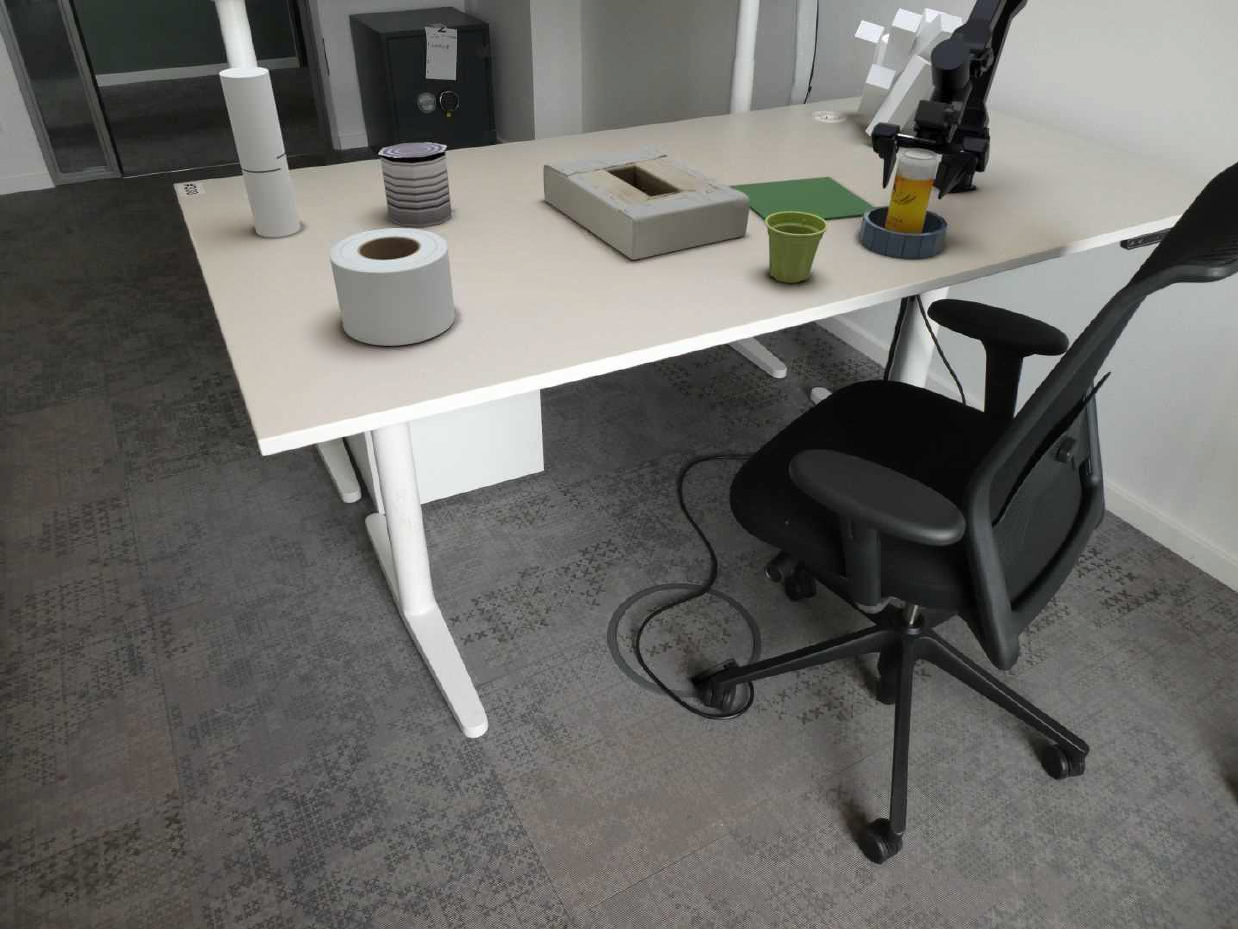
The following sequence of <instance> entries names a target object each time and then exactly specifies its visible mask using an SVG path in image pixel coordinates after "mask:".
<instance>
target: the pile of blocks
mask: <svg viewBox="0 0 1238 929" xmlns="http://www.w3.org/2000/svg"><path fill="white" fill-rule="evenodd" d="M963 24H964V23H963V18H962V17H961V16H957V15H952V14H948V13H947V12H943V11H940V10H936V9H931V8H928V7H925V8H924V10H923V12H922V14H919V13H916V12H913V11H910V10H906V9H903V8H900V7H899V8H898V10H897V12H896V14H895V17H894V18H893V21H892V23H891V26H890V30H889V33H886V34H884V31H885V26H882V25H879V24H876V23H872V22H870V21H866V20H863V19H862V20H861V22H860V23H859V25H858V28H857V30H856V32H855V34H854V37H853V43H852V48H851V49H852V50H851V55H850V60H849V61H850V62H849V67H848V74H847V78H846V84H849V85H851V86H854V87H858V88H861V89H863V90H862V94H861V97H860V98H861V99H860V102H859V106H858V110H857V114H859V115H862V116H865V117H869V118H872V119H871V121H870V123H869V125H868V126H867V128H866V130H864V132H865V133H866V134H867V135H868V136H870V137H871V133H872V131H873V128H874V126H875V125H877V124H878V123H880V122H883V123H889V124H895V125H900V132H902V130H903V128H904V127H905V125H906V124H909V125H913V126H914V125H915V122H914V121H913V120H914V117H915V114H916V111H917V107H918V104H919V101H920V100H926V101H929V100H930V97H931V95H932V93H933V90H934V88H935V86H933V84H932V69H931V53H932V50H933V48H935V47H936V45H938V44H939V43H940V42H942V41H944V40H946V39H950V37H951V35H952V33H953V32H954V30H955V29H956V28H958V27H960V26H962V25H963Z"/></svg>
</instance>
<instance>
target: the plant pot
mask: <svg viewBox="0 0 1238 929" xmlns="http://www.w3.org/2000/svg"><path fill="white" fill-rule="evenodd" d="M764 225H765V227H766V228H767V229H766V230H767V235H768V260H769V262H768V263H769V265H768V266H769V275H770V277H771V278H774V279H775V280H776V281H777V282H782V283H788V284H798V283H800V282H801V281H807V280H808V279H809V277H810V274H811V270H812V266H813V263H814V261H815V257H816V254H817V251H818V248H819V245H820V242H821V240H822V239H823V236H824V234H825V233H826V232H827V231H828V229H829V223H828V222H827V220H824V219H822V218H821V217H819V216H816V215H813V214H809V213H804V212H793V211H788V212H778V213H774V214H771V215H770V216H768V217H767V218H766V219H765V220H764Z"/></svg>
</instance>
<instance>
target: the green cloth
mask: <svg viewBox="0 0 1238 929" xmlns="http://www.w3.org/2000/svg"><path fill="white" fill-rule="evenodd" d="M728 186H729V187H731V188H733V189H736V190H738V191H741V192H743V193H744V194H746V195H747V196H748V197H749V199H750V206H749V209H751V210H752V211H753V212H754V213H756V214H757V215H758V216H759V217H760V218H762V219H763V220H764V221H765V219H766V218H767V217H768V216H770V215H771V214H774V213H778V212H788V211H793V212H804V213H809V214H813V215H816V216H819V217H821V218H822V219H824V220H825V221H828V220H837V219H838V220H839V219H847V218H848V219H849V218H856V217H863V215H864V214H865V212H866V211H867V210H869V209H872V208H874V207H875V206H873V205H871V204H869V203H868V202H867V201H865V200H864V199H862V198H861V197H859V196H858V195H856V194H855V193H853V192H852V191H851V190H849V189H847V188H846V187H844V186H843V185H842V184H840V183H838V182H837V181H835V179H832V178H831V177H829V176H824V177H813V178H802V179H791V180H781V181H780V180H779V181H778V180H777V181H771V182H770V181H769V182H757V183H747V184H737V185H736V184H735V185H728Z"/></svg>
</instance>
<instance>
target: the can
mask: <svg viewBox="0 0 1238 929" xmlns="http://www.w3.org/2000/svg"><path fill="white" fill-rule="evenodd" d="M447 147H448V146H447V144H441V143H437V142H432V141H431V142H430V141H427V142H426V141H425V142H405V143H404V142H403V143H399V144H395V145H390V146H386V147H381V149H380V150H379V152H378V154H377V155H379V156H380V163H381V171H382V177H383V184H384V192H385V198H386V206H387V213H388V220H389V221H390V222H392V223H394V224H396V225H397V226H400V227H409V228H410V227H411V228H425V227H432V226H439V225H441V224H443V223H445V222H447V221H449V220H450V219H452V204H451V203H452V202H451V194H450V184H449V182H450V181H449V174H448V163H447V155H446V154H447V153H446V149H447Z"/></svg>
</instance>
